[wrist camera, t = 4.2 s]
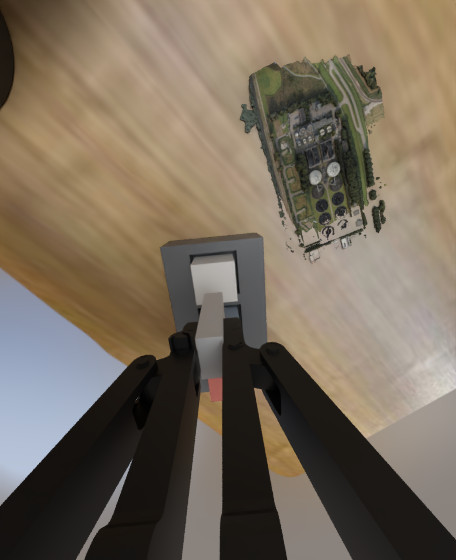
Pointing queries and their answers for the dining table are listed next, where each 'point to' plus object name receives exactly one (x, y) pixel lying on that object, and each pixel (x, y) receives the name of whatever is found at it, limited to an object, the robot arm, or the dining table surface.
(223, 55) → the dining table surface
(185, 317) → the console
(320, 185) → the treatment plant
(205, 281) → the white key
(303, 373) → the robot arm
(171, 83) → the dining table surface
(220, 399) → the red key
